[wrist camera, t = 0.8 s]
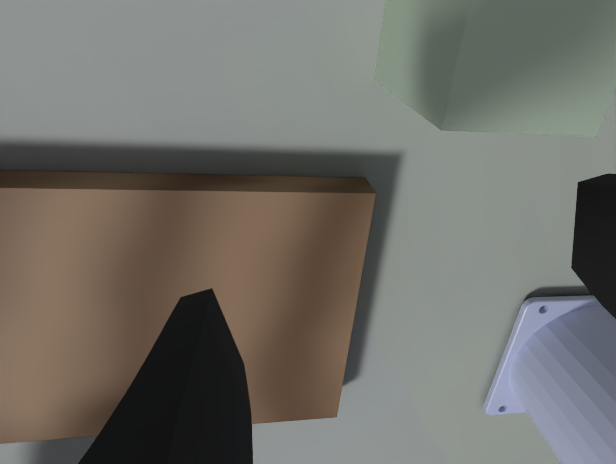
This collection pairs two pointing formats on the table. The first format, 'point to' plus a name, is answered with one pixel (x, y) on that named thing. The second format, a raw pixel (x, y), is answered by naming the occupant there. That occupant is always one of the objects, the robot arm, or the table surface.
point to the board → (172, 287)
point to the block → (501, 63)
